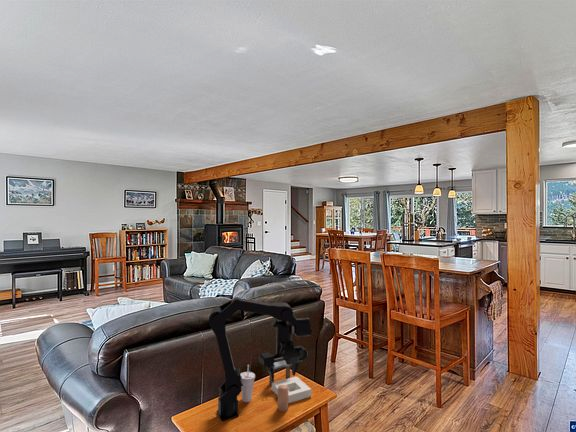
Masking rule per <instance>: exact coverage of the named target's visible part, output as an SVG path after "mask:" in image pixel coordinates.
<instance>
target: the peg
mask: <svg viewBox="0 0 576 432" xmlns="http://www.w3.org/2000/svg"><path fill="white" fill-rule="evenodd" d="M277 410H278V411H280V412H287V411H288V410H289V403H288V386H287V385H280V386H278V396H277Z"/></svg>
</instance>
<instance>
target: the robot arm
mask: <svg viewBox="0 0 576 432" xmlns="http://www.w3.org/2000/svg"><path fill="white" fill-rule="evenodd" d="M238 311H242V312H248V313H254V314H261V315H266V316H270V317H272V318H274V320H273V321H272V322H271V326H272V327H273V328H276V336H275V338H274V342H275V343H276V345H275V348H274V352H275V354H272V353H270V352H269V351H267V352H262V353H259V355H258V362H259V363H260V364H261V365H262V366H263V367H264V368H266V370H267V372H268V375H269V378H271V380H272V381H273V380H274V381H275V369H274V367H275V365H274V363H275V361H276V360H280V359H281V360H282V359H283V361H284V360H285V361H286V364H288V365H290V366H291V373H292V377H296V376H295V375H296V373H297V371H298V367H299V365H300V363H301V362H303V361H305V360H306V358H308V356H309V354H308V353H309V352H308V350H307V349H306V348H305V347H303V346H302V345H297V346H295V345H294V341H293V340H292V334H293V335H295V337H299V338H300V337H311V336H312V330H313V329H312V326H311V325H312V324H311V319H310V318H309V317H302V318H300V317H299V318H297V317H296V316H295V315H294V310H293V309H292V307H291V306H290V304H288V303H287V302H271V303H269V302H264V301H258V300H257V301H256V300H254V299H253V300H252V299H246V298H241V297H237V296H236V297H233V298H232V299H230V300H229V301H227V302H225V303H223V304H221V305H220V306H215V307H213V308H211V310H210V311H209V313H208V323H209V326H210V329H211V330H212V332H213V334H214V335H215V336H214V337H215V338H216V341H217V346H218V349H219V353H220V359H221V363H222V367H223V372H224V382H223V383H222V384H221V385H220V386H219V396H218V398H217V400H218V401H217V410H216V413H217V416H218V418H219V419H220V421H221V422H224V421H227V420H230V419H234V418H238V417H239V400H238V396H239V395H240V394H242V393H241V391H242V387H241V386H243V382H242V377H241V375H240V374H241V369H240V367H239V368H237V369H236V367H235V365H234V361H233V357H232V356H233V355H232V352H231V348H230V345H229V344H230V343H229V339H228V336H227V331H226V321H227V320H229V319H230V318H231V317H232V316H233V315H234V314H235V313H237V312H238ZM291 364H292V365H291Z"/></svg>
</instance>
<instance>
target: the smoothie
mask: <svg viewBox="0 0 576 432" xmlns="http://www.w3.org/2000/svg"><path fill="white" fill-rule="evenodd" d="M240 375H241V377H242V382H243V386H241V387H242V391H241V393H240V394H241V399H242V402H244V403H249V402H251V401H252V399H253V391H254V384H255V379H256V374H255V373H254V372H252V371H250V364H247V371H244V372H240Z"/></svg>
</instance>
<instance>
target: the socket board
mask: <svg viewBox="0 0 576 432" xmlns="http://www.w3.org/2000/svg"><path fill="white" fill-rule="evenodd" d="M280 385H287V386H288V404H292V403H295V402H297V401H301V400H303V399H307V398H310V397H312V388H311V387H310V386H309V385H307V383H305V382H304V381H302V380H301V378H299V377H298V376H292V377H290V378H288V379H286V378H285V379H281V380H278V381H277V380H276V381H274V382H273V383H272V385H271V391H272V392H273V393H274V394H275V395H276V396H277V397H278V386H280Z"/></svg>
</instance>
